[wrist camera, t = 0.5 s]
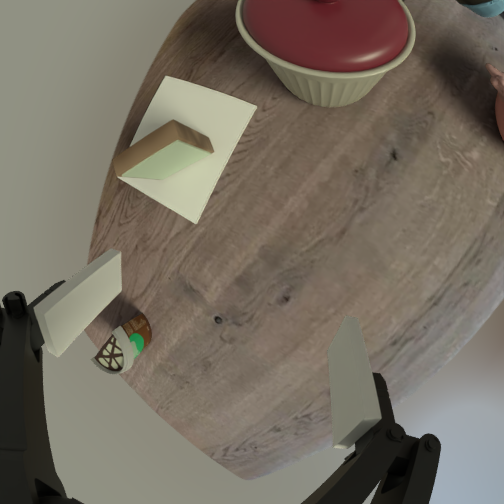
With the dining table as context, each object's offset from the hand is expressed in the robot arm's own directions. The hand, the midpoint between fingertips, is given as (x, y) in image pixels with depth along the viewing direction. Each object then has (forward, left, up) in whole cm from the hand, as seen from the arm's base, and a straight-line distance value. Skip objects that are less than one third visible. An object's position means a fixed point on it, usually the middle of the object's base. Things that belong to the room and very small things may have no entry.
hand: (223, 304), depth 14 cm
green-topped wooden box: (-4, -19, -25) cm, 31 cm away
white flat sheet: (-6, -22, -25) cm, 34 cm away
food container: (+30, -14, -25) cm, 42 cm away
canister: (-26, -6, -25) cm, 37 cm away
